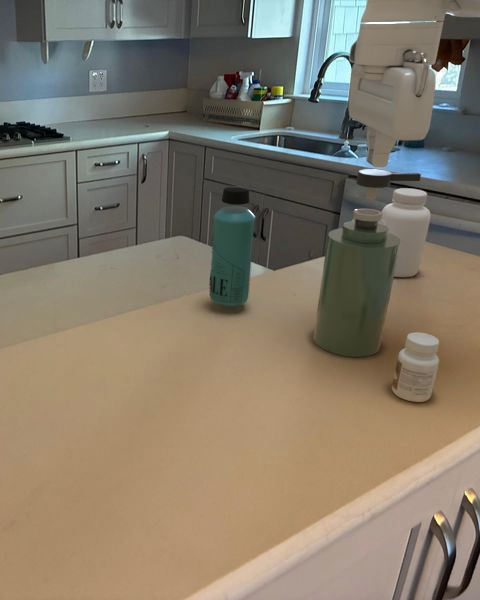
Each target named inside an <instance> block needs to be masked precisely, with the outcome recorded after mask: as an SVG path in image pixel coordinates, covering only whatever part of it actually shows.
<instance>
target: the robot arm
mask: <svg viewBox="0 0 480 600" xmlns="http://www.w3.org/2000/svg"><path fill="white" fill-rule="evenodd" d="M446 14H449V15H451V16H454V17H458V18H459V17H461V18H480V0H366V6H365V9H364V12H363V13H362V15H361V18H360V24H359V30H358V35H357V38H356V40H355V41H354V42H353V43H352V44H351V46H350V50H349V56H348V61H349V62H350V63H353V65H352V67H351V71H350V77H349V78H350V79H349V90H348V105H347V106H348V115H349V118H350V119H352V120H354V121H356V122H358V123H359V124H362V125H364V126H365V127H367V130H366V144H367V152H366V159H365V160H366V162H367V163H368V164H370V165H371V166H372V167H374V168H386V167H388V164H389V160H390V154H391V152H392V150H393V148H394V147H395V144H396V143H397V141H422V140H425V138H426V136H427V135H428V133H429V130H430V127H431V121H432V116H433V110H434V109H433V108H434V101H435V95H436V94H435V93H436V84H437V83H436V81H437V79H436V74H435V71H434V70H433V69H431V68H430V66H433V65H436V61H437V57H438V51H439V47H440V41H441V36H442V31H443V27H444V21H445V16H446Z"/></svg>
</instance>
